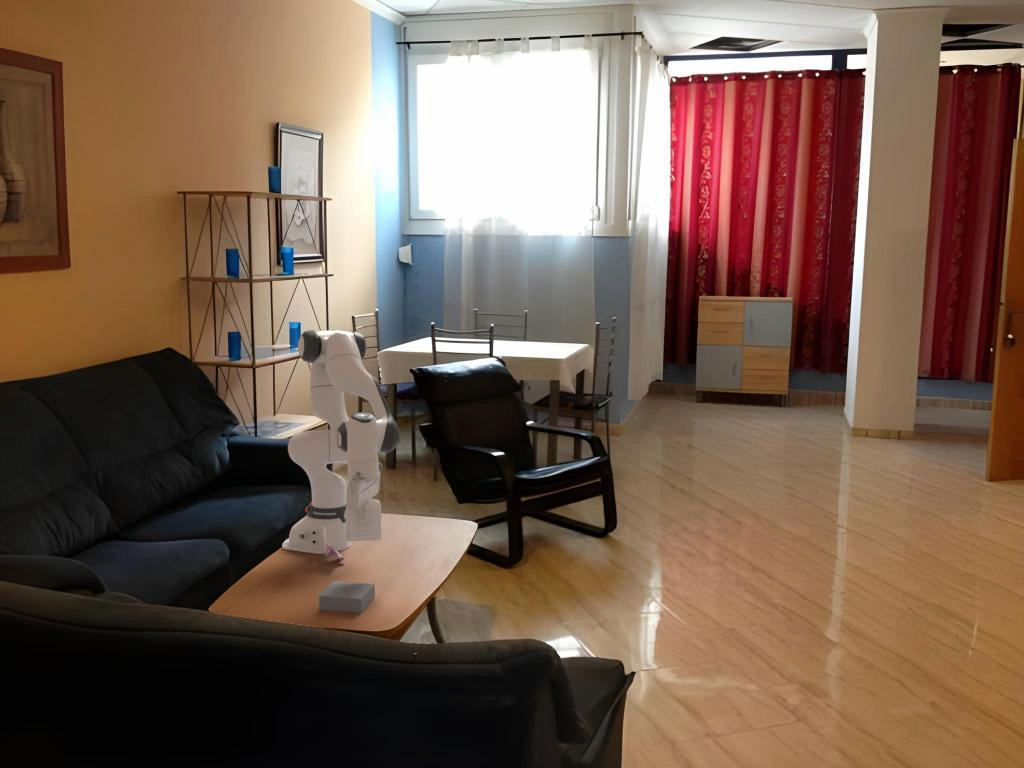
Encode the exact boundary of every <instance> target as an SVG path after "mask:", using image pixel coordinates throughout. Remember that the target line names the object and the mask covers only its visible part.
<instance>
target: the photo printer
mask: <svg viewBox="0 0 1024 768" xmlns="http://www.w3.org/2000/svg"><path fill="white" fill-rule="evenodd" d="M362 511H363V512H364V515H363V516H364V517H363V518H362V519H361V520H358V519H356V512H355V509H351V508H347V506H346V540H347V541H351V542H362V541H363V542H364V541H368V542H369V541H381V540H382V505H381V501H380V500H379V499H375V498H372V499H371V498H370V499H369V500H368V501H367V502H366V503H365V504H363V508H362Z"/></svg>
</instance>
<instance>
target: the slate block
mask: <svg viewBox="0 0 1024 768" xmlns="http://www.w3.org/2000/svg"><path fill="white" fill-rule="evenodd" d="M375 585H376V584H375V583H367V582H366V583H365V582H354V581H353V582H352V581H340V580H339V581H336V580H334V581H332V582H331V584H330V585H329V586H328V587H326V589H324V590H323V591H322V592H321V593H320V594H319V595H318V609H319V611H329V612H342V613H353V614H356V613H357V614H363V612H364V611H365V610H366V608H367V607H368V606H369V605H370V604H371V602H372V601H374V599H375V597H376V596H375V595H376V593H375V592H376V591H375V590H376V589H375V588H376V587H375Z"/></svg>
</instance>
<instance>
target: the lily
mask: <svg viewBox="0 0 1024 768" xmlns="http://www.w3.org/2000/svg"><path fill="white" fill-rule="evenodd" d="M321 535H322V534H321ZM322 536H323V535H322ZM323 537H324V536H323ZM324 539H325V538H324ZM323 541H324V540H323ZM325 541H326V543H327V544H326V553H325V554H324V557H322V560H321V562H320V565H322V563H323V562H324V559H325V558H326V557H327V556H333V557H336V558H338V559H339V560H341V562H342V563H343V564H344V565H346V564H345V562H344V560H342V558H343V559H345V558H344V557H343V556H342V555H341V553H339V551H336V550H334V548H335V547H334V548H332V547H331V546H329V544H328V542H327V540H326V539H325ZM325 541H324V542H325ZM336 547H337V546H336ZM335 549H336V548H335Z"/></svg>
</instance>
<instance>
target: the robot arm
mask: <svg viewBox="0 0 1024 768" xmlns="http://www.w3.org/2000/svg"><path fill="white" fill-rule="evenodd" d="M297 351H298V355H299V357H300V358H301V360H302V361H303V362H306V363H310V364H311V369H310V377H309V399H310V401H309V405H310V406H309V407H310V408H309V409H310V412H311V414H312V415H313V416H314V417H315V418H318V420H319V419H320V420H322V421H323V422H326V423H327V424H329V427H330V429H326V430H324V429H323V430H320V429H319V430H318V429H317V430H305V431H301V432H295V433H294V434H293V435H292V436H291V437H290V438H289V440H288V444H287V451H288V455H289V457H290V459H291V460H292V461H293V462H294V463H295V464H297V465H298V466H300V467H301V468H302V469H303V470H304V472H305V473H306V475H307V476H308V480H309V482H310V487H311V502H310V503H309V504H308V505H307V506H306V508H305V510H304V511H305V513H306V515H305V516H304V517H303V518H301V519H299V521H297V522H296V523H295V524H294V525H293V526H292V527H291V529H290V531H289V536H288V538H286V539H285V540H284V542H282V545H281V546H282V549H283V550H286V551H287V550H288V551H292V552H293V551H295V552H300V553H301V552H302V553H308V554H316V555H326V544H327V543H326V541H325V539H326V540H327V542H328V544H329V546H331V547H332V548H334V547H335V548H336V549H335V548H334V550H336V551H337V552H340V551H343V550H344V551H345V550H346V549H349V548H350V547H352V541H347V540H346V506H347V508H351V509H355V512H356V519H358V520H361V519H362V518H363V517H364V516H363V515H364V512H363V511H362V508H363V504H365V503H366V502H367V501H368V500H369V499H370V498H371V499H373V497H375V496H376V495H377V494H379V492H380V485H381V484H380V483H381V471H382V469H383V465H382V463H381V462H379V455H378V452H379V453H391V452H392V451H394V450H395V449H396V448H397V446H398V445H399V444H400V441H401V432H400V428H399V426H398V423H397V422H396V420H395V419H394V417H393V415H392V413H391V410H390V407H389V405H388V403H387V400H386V397H385V395H384V392H383V390H382V388H381V385H380V384H379V381H378V379H377V377H375V376H374V375H372V374H371V373H369V372H368V371H367V370H366V368H365V367H364V365H363V362H362V361H363V360H364V358H365V356H366V352H367V341H366V338H365V336H364V335H363V333H360V332H358V331H347V330H340V329H339V330H338V329H332V330H331V329H328V330H323V329H322V330H315V329H312V330H305V331H304V332H303V333H302V334H300V337H299V340H298V343H297ZM345 393H346V394H350V395H353V396H358V397H360V398H363V399H364V400H366V401H367V402H369V404H370V407H371V408H372V412H373V414H374V415H373V414H371V413H368V412H355V413H353V414H351V415H350V416H348V413H347V408H346V403H345ZM329 464H347V477H349V478H351V480H349V481H348V482H346V481H345V478H344V477H343V476H341V475H339V474H338V473H335V472H334V471H330V469H328V467H327V465H329ZM321 534H322V535H323V536H324V537H323V536H322V535H321ZM324 538H325V539H324ZM323 540H324V541H325V542H324V541H323ZM336 546H337V547H336Z"/></svg>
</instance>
